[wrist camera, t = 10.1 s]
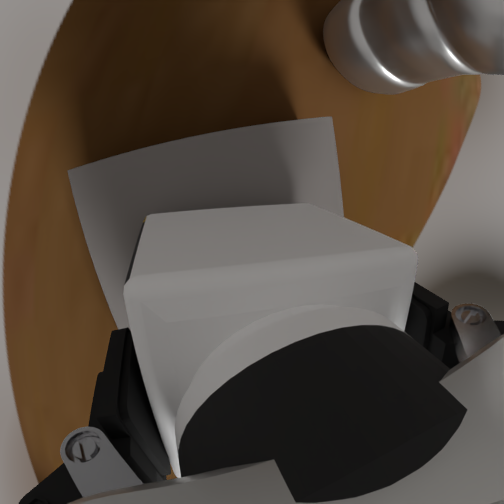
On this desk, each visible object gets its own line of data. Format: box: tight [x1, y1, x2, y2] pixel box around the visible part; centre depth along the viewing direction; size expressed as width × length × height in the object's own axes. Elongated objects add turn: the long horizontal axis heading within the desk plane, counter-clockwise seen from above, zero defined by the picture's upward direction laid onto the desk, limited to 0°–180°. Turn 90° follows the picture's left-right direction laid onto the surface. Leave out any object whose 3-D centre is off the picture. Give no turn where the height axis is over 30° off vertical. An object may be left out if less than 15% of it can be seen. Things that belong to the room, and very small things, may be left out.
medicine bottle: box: [123, 203, 468, 503], centre depth 9 cm, size 7×7×12 cm
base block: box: [68, 117, 344, 331], centre depth 17 cm, size 13×12×4 cm
